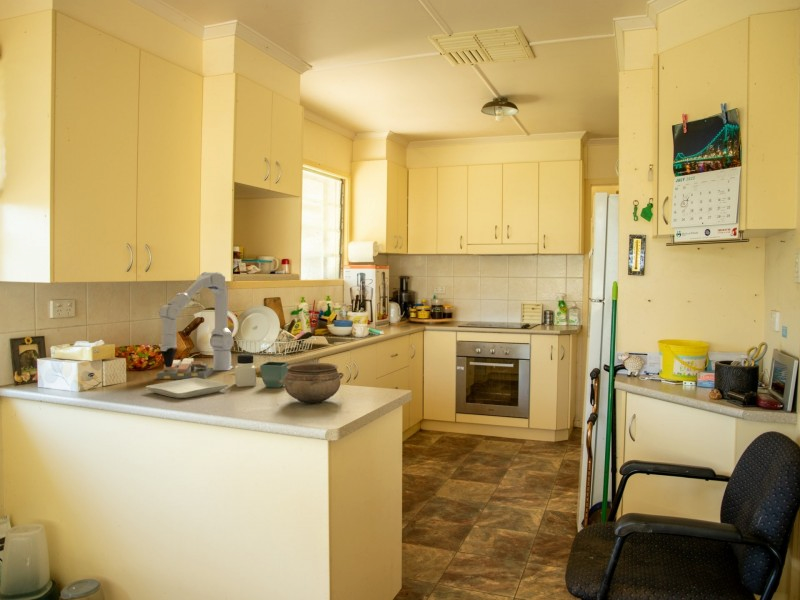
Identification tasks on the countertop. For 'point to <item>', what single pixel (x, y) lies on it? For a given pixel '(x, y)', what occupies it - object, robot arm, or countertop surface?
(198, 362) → the right rocker
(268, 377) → the flower pot
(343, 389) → the countertop surface
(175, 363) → the left rocker
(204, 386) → the salad plate
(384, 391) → the countertop surface
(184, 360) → the middle rocker
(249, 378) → the medicine bottle
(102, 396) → the countertop surface
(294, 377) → the cooking pot
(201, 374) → the switch unit
